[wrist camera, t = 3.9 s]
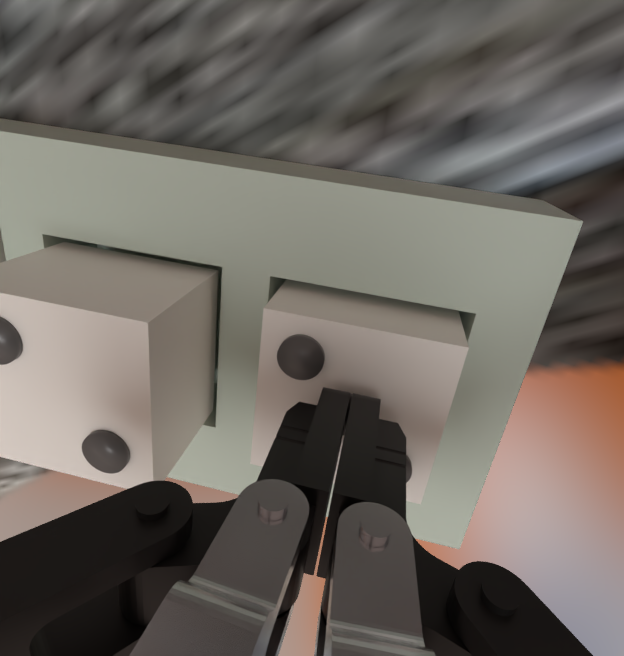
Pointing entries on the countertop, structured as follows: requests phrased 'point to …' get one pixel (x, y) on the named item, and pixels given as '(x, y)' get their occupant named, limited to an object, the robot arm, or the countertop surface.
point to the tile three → (360, 365)
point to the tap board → (305, 272)
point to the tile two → (104, 361)
